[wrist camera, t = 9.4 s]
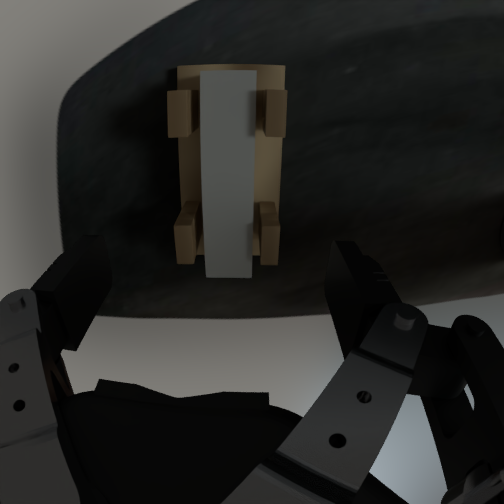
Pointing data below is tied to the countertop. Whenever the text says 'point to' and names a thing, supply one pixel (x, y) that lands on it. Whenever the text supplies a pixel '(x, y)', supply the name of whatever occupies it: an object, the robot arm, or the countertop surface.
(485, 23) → the countertop surface
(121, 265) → the countertop surface
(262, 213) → the rack
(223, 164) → the clay bar
